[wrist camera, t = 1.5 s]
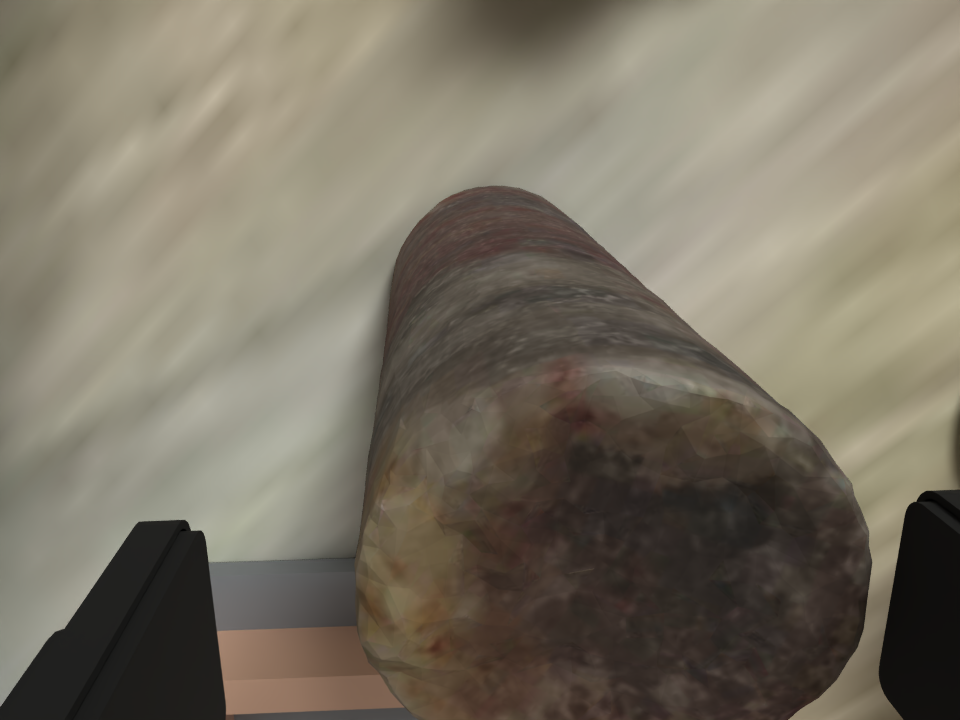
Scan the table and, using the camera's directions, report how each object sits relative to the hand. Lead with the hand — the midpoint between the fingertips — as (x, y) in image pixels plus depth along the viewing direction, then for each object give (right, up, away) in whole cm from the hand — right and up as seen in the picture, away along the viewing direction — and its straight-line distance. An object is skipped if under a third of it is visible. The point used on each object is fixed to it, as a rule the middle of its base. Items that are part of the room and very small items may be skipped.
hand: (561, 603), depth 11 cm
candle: (0, +6, +19) cm, 20 cm away
